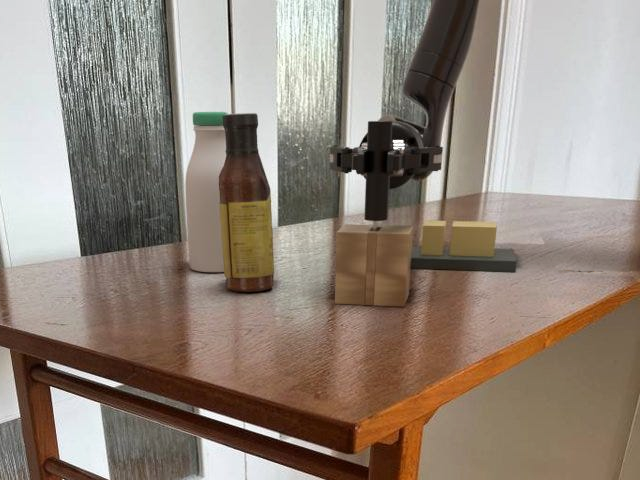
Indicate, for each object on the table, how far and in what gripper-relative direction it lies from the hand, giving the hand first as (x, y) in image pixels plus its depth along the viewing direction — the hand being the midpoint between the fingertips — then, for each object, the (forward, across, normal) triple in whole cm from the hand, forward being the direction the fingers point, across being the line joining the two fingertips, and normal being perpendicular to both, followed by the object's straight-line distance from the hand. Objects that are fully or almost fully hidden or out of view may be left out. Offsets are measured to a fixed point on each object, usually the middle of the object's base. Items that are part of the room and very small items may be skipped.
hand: (375, 163), depth 80 cm
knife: (-3, 0, +15) cm, 15 cm away
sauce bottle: (-6, -16, +15) cm, 23 cm away
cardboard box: (-3, 0, +15) cm, 15 cm away
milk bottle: (-18, -24, +15) cm, 34 cm away
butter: (-28, +9, +15) cm, 33 cm away
